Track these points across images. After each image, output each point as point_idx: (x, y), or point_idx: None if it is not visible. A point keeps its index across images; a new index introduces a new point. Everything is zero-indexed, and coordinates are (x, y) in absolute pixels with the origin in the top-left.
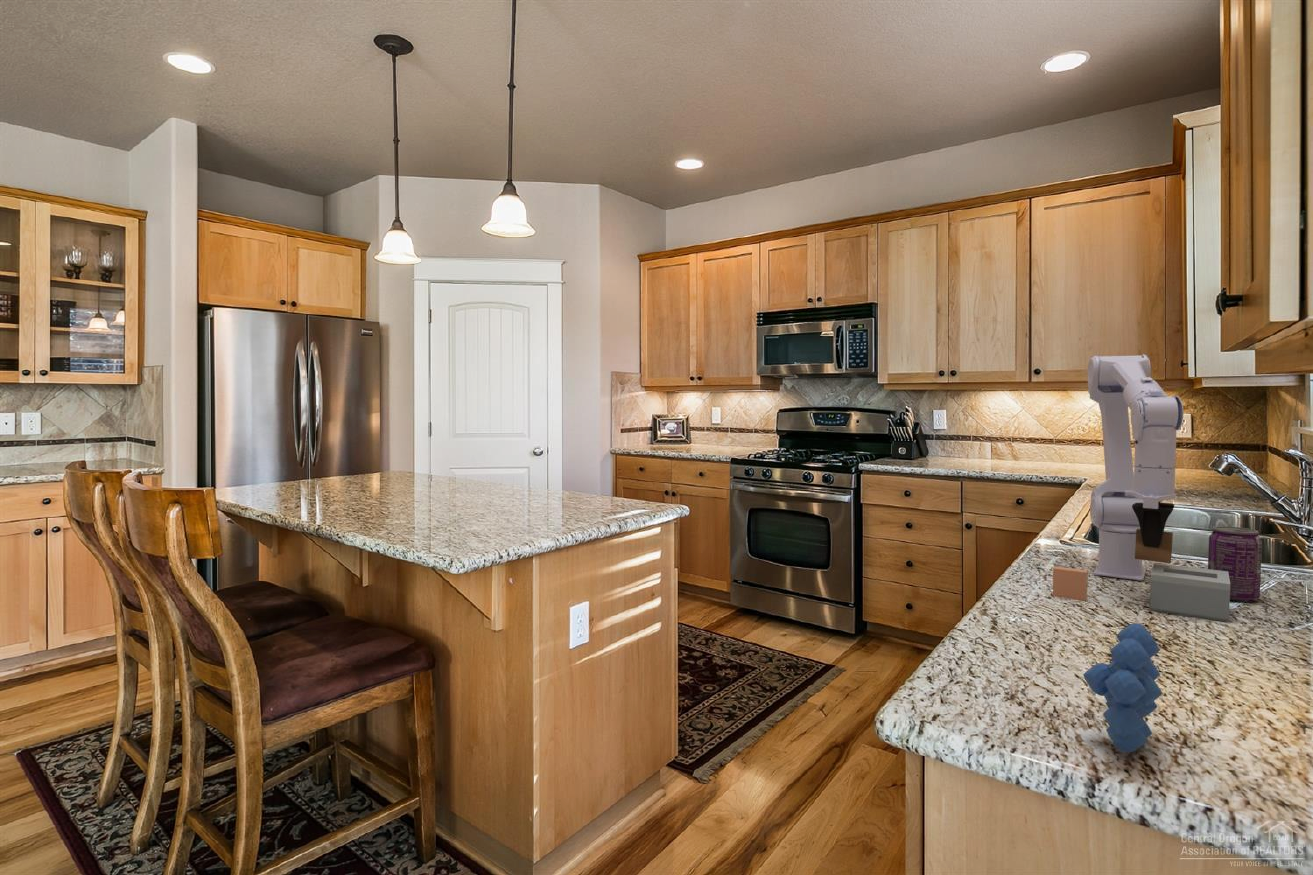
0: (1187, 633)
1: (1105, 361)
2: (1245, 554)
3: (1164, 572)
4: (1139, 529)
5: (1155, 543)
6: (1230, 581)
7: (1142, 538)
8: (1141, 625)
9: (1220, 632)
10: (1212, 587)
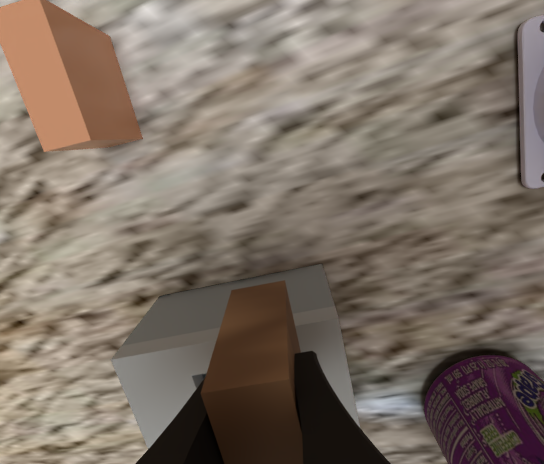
0: (41, 389)
1: None
2: None
3: (184, 380)
4: (260, 397)
5: None
6: (443, 444)
7: (193, 393)
8: None
9: (109, 426)
10: None
